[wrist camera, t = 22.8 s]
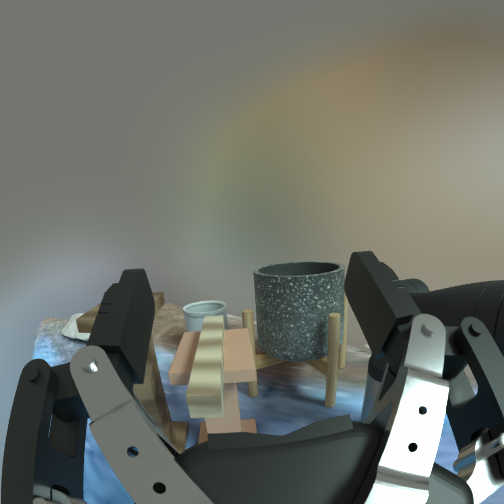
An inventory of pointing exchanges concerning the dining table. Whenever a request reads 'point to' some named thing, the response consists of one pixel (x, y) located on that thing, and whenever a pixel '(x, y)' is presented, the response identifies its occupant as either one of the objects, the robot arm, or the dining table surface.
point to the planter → (300, 318)
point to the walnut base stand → (149, 384)
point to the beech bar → (208, 371)
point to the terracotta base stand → (235, 370)
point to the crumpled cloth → (74, 329)
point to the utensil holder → (203, 313)
